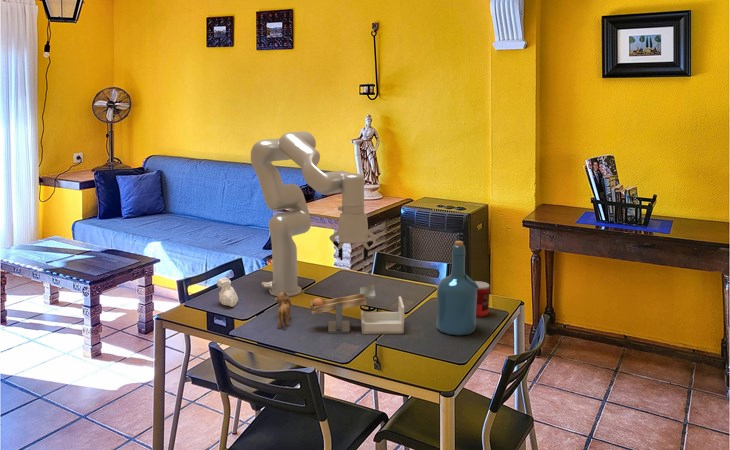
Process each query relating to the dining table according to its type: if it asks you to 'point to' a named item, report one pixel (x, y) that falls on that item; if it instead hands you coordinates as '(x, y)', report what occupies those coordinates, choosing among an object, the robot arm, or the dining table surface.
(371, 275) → the dining table surface
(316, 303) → the ball
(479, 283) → the canned food
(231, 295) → the duck figurine
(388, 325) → the bin
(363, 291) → the lever
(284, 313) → the lion figurine
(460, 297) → the wine bottle
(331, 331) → the fulcrum
